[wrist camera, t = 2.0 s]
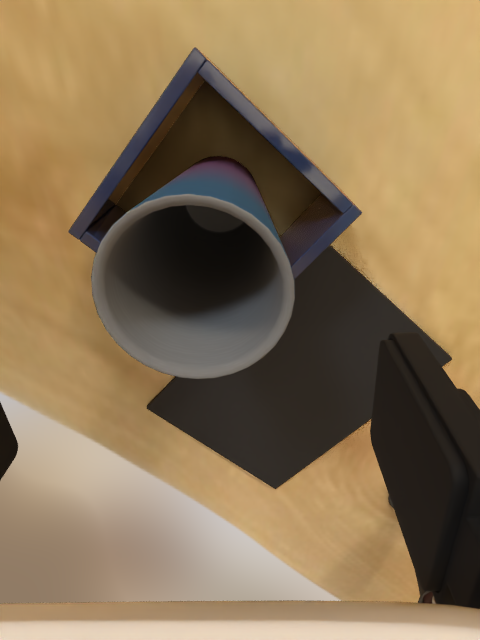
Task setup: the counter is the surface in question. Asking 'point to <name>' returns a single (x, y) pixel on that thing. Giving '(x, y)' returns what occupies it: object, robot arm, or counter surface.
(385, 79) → the counter surface
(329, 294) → the mat
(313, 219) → the holder
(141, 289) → the cup
